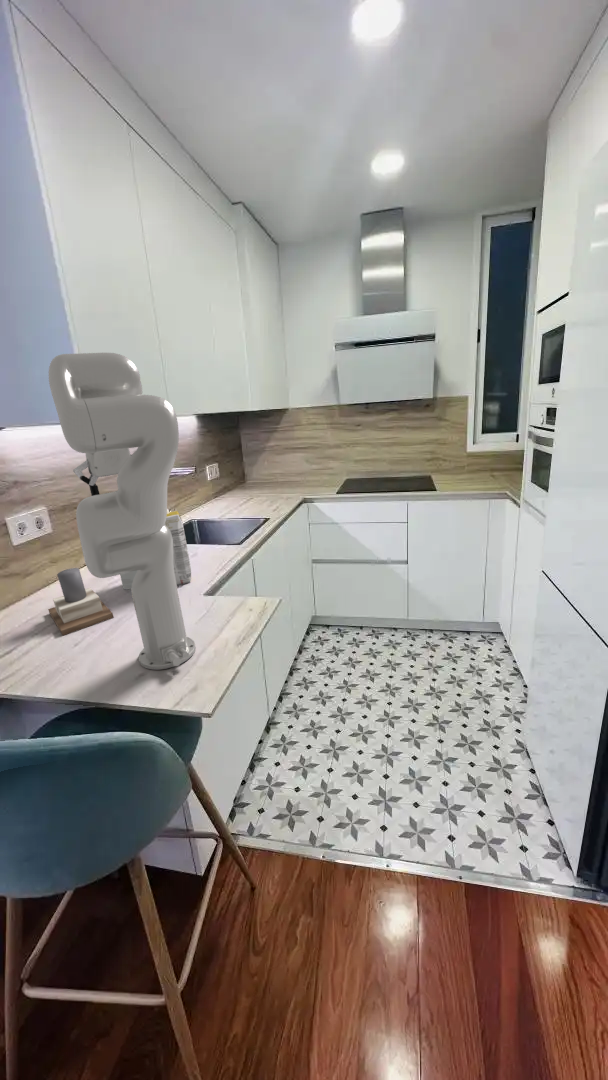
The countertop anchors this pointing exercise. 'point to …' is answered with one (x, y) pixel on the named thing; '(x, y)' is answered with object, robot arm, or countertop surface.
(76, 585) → the charcoal cylinder
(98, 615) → the plinth base
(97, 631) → the countertop surface
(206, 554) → the countertop surface
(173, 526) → the juice carton
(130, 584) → the supplement box
